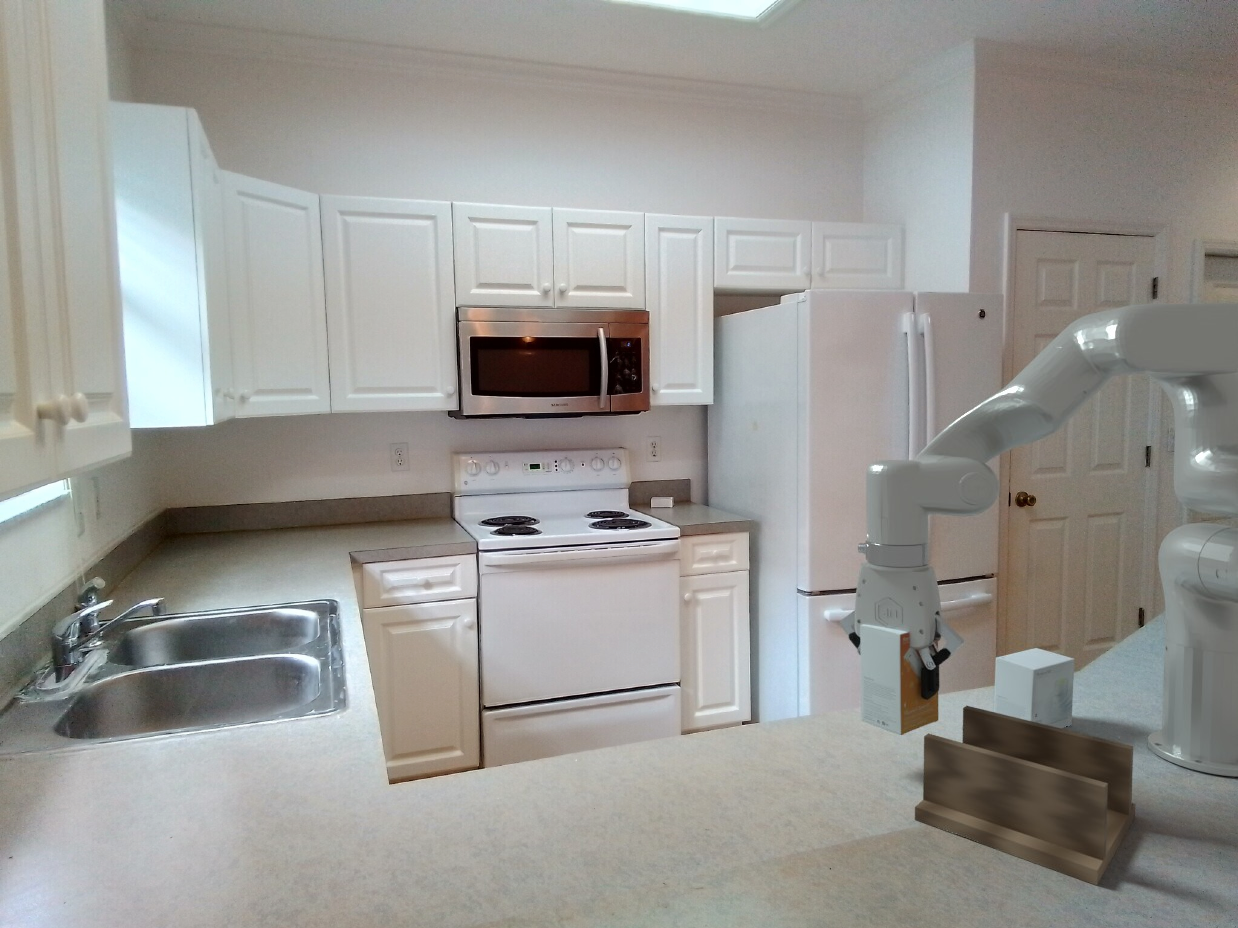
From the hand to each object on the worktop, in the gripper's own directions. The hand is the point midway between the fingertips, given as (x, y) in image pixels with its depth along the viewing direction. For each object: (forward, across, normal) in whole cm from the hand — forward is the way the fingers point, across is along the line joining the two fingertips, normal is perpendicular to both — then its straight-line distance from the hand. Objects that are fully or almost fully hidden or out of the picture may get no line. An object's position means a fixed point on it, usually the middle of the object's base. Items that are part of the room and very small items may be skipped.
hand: (899, 688), depth 99 cm
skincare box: (+12, +8, +27) cm, 31 cm away
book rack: (+11, +16, -3) cm, 19 cm away
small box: (+5, 0, 0) cm, 5 cm away
